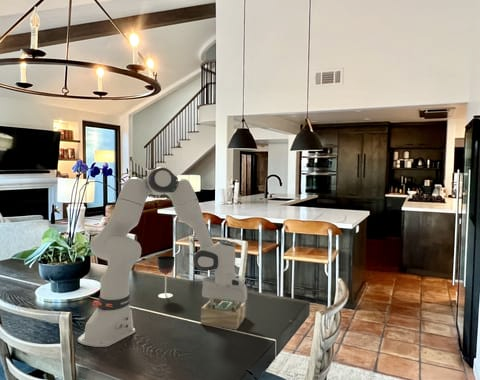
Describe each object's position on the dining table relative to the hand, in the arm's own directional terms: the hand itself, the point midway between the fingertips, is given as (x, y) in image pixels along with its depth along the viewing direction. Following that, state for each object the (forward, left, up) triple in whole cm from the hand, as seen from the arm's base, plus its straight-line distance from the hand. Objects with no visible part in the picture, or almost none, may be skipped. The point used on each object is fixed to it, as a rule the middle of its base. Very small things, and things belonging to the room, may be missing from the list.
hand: (223, 309), depth 164 cm
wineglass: (+20, +39, -5) cm, 44 cm away
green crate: (0, 0, -4) cm, 4 cm away
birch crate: (0, 0, -5) cm, 5 cm away
